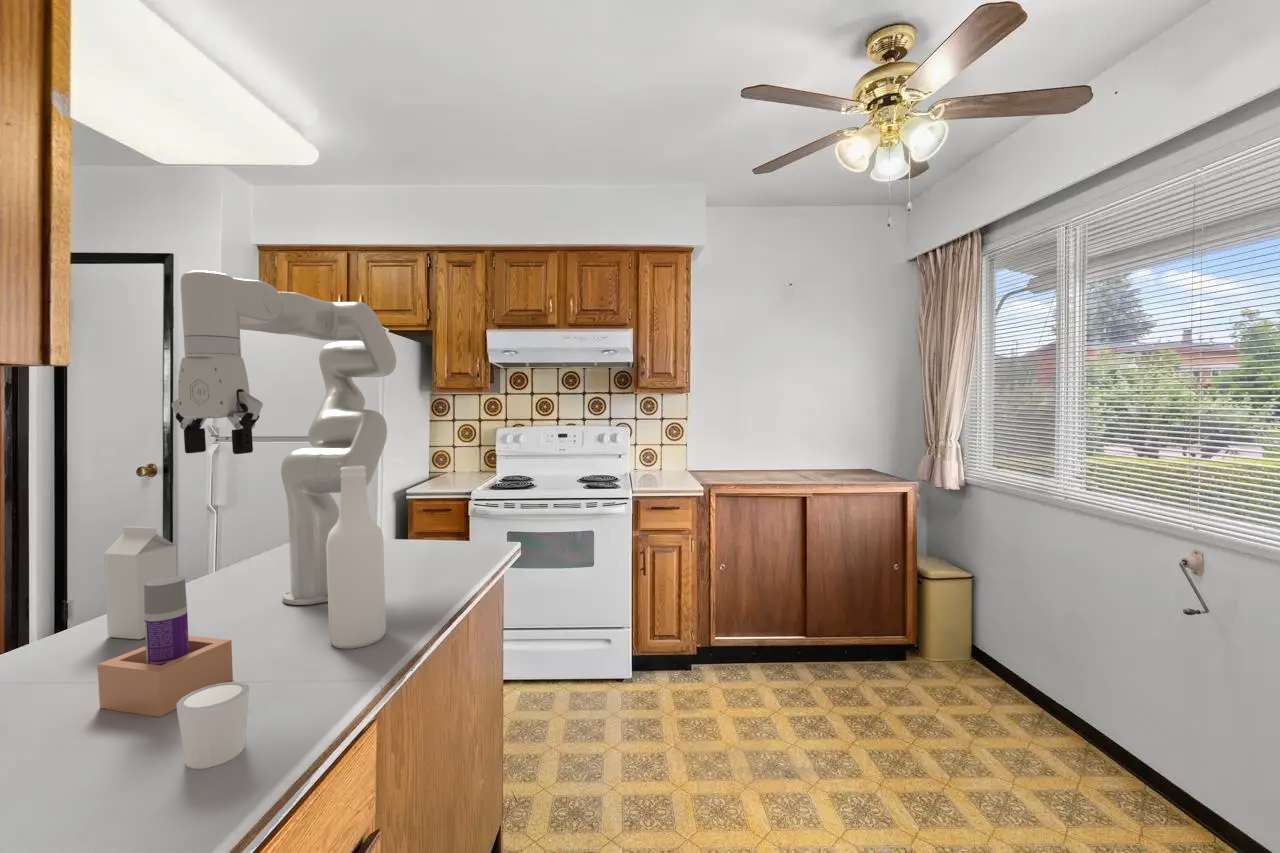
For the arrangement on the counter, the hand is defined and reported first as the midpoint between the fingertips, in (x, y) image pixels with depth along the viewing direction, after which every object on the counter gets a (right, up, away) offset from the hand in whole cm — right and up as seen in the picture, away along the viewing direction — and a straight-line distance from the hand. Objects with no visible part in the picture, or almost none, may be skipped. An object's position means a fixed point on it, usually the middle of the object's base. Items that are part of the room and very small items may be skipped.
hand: (219, 452), depth 96 cm
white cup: (+21, -34, -29) cm, 49 cm away
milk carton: (-20, -33, +9) cm, 39 cm away
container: (+3, -33, -14) cm, 36 cm away
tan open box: (+3, -33, -15) cm, 37 cm away
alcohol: (+21, -33, +4) cm, 39 cm away
